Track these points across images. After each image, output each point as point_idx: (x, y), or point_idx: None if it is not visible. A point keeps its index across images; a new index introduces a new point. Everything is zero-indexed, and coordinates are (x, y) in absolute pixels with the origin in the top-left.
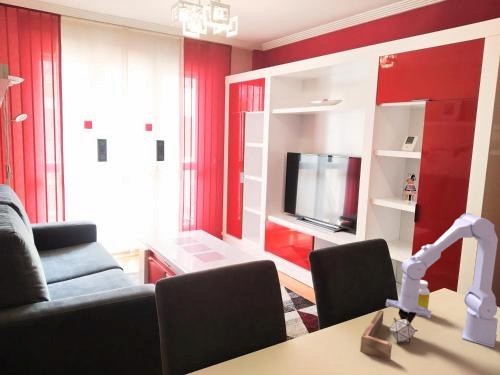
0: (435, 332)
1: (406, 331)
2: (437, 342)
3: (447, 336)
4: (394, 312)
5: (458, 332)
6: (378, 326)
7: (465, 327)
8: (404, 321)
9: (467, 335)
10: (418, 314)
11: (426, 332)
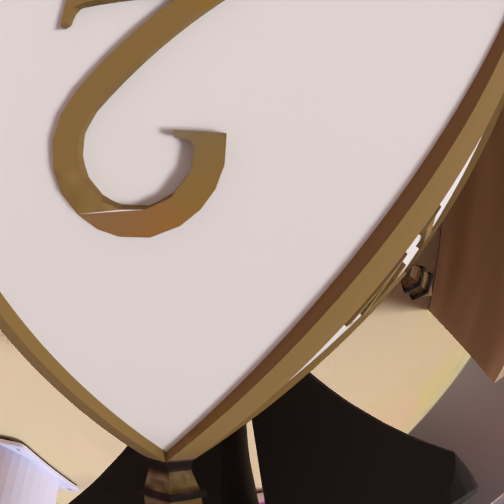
0: (112, 444)
1: None
2: (21, 359)
3: (58, 438)
4: None
5: (72, 473)
6: (476, 174)
7: (32, 493)
8: (43, 122)
9: (18, 461)
10: (261, 495)
11: None
